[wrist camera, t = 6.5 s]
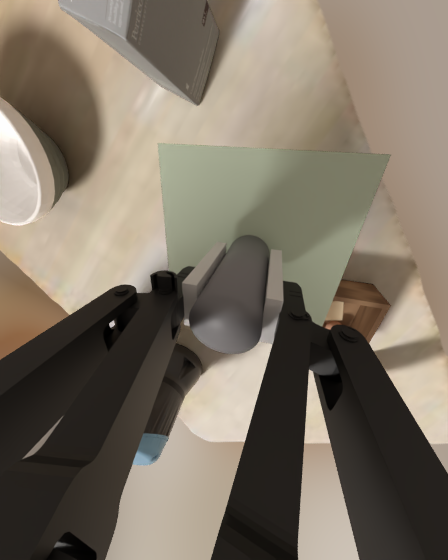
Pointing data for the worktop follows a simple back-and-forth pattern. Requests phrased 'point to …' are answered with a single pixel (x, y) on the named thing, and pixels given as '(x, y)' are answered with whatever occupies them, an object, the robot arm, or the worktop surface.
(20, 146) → the bowl
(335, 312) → the maple cube
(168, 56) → the skincare box
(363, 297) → the walnut box
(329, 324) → the ball
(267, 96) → the worktop surface
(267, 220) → the lid
